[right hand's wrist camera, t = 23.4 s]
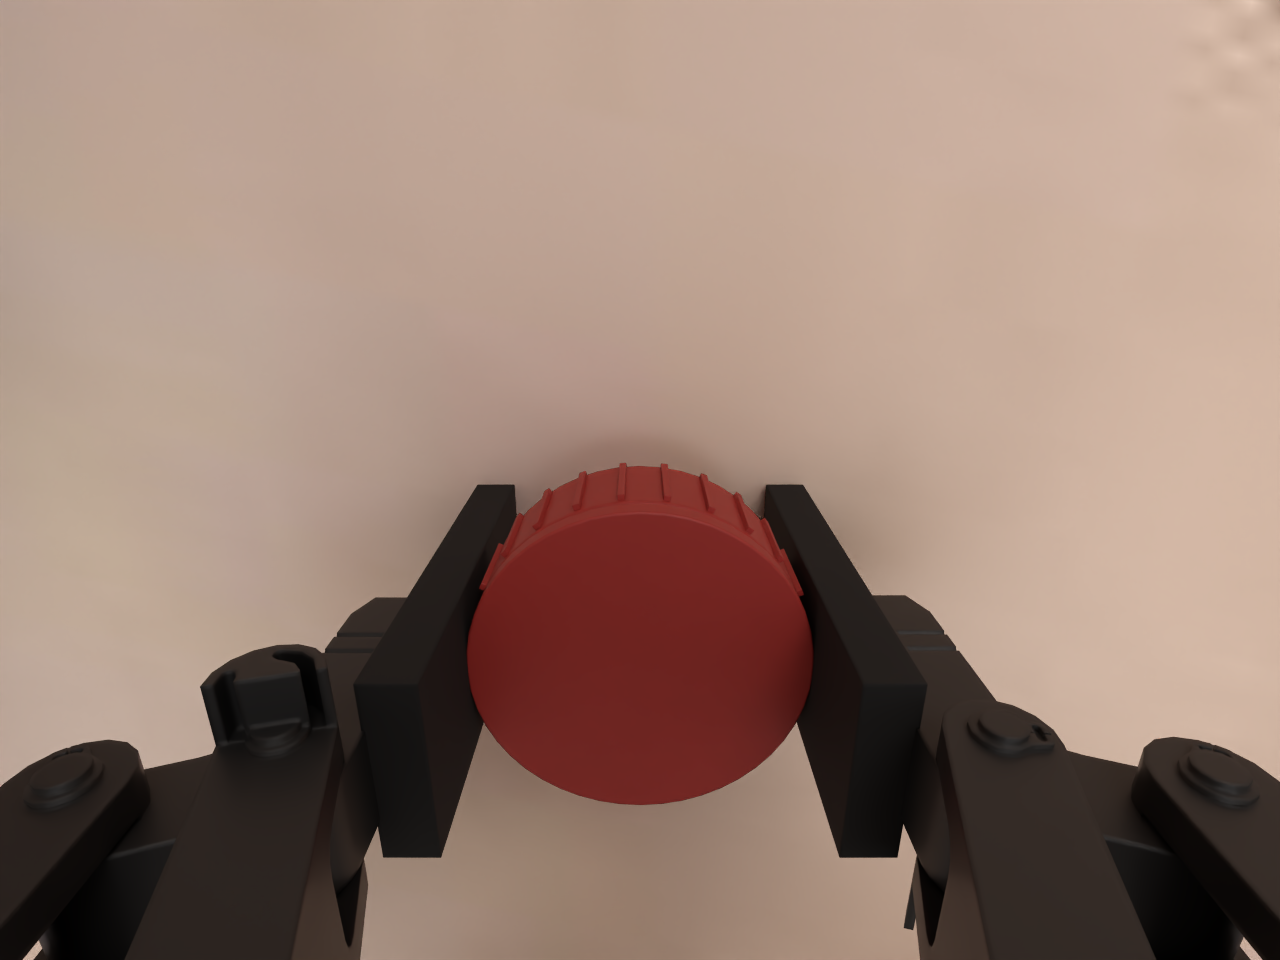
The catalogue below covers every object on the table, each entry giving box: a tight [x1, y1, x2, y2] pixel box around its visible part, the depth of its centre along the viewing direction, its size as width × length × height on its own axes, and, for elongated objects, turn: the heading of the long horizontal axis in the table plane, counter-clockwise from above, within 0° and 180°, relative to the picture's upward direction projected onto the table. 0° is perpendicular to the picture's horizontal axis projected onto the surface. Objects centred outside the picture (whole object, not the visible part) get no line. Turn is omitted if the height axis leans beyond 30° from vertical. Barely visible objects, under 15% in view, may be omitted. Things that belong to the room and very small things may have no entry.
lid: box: [467, 463, 814, 805], centre depth 11 cm, size 5×5×2 cm
